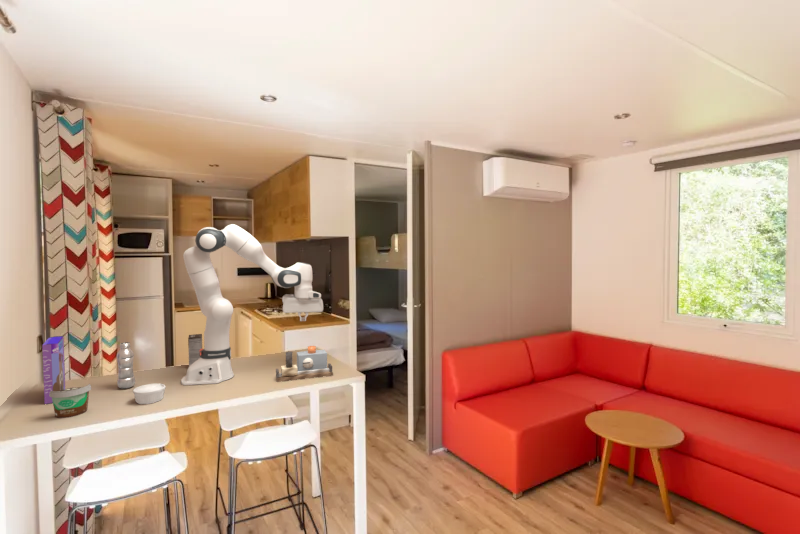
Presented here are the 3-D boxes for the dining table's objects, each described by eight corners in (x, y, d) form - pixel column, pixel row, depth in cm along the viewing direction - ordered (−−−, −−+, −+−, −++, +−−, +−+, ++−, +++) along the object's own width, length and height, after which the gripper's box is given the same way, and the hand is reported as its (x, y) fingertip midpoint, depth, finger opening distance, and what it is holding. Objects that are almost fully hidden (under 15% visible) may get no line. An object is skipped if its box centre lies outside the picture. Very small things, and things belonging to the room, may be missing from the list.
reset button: (308, 353, 204) (308, 348, 204) (307, 352, 207) (307, 346, 207) (316, 353, 205) (316, 347, 205) (315, 351, 209) (315, 345, 209)
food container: (48, 422, 144) (47, 394, 144) (50, 416, 149) (48, 389, 149) (91, 414, 152) (90, 387, 151) (92, 408, 157) (91, 383, 156)
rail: (276, 382, 188) (276, 372, 188) (275, 377, 195) (275, 368, 194) (332, 375, 197) (332, 366, 197) (329, 371, 204) (329, 362, 204)
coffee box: (189, 364, 217) (188, 334, 217) (202, 363, 220) (202, 333, 219) (188, 368, 209) (188, 338, 208) (202, 367, 212) (201, 336, 211)
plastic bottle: (138, 385, 183) (137, 341, 182) (125, 391, 176) (123, 345, 176) (127, 384, 185) (126, 341, 184) (113, 389, 178) (112, 344, 177)
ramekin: (169, 400, 165) (168, 387, 165) (137, 408, 158) (136, 394, 157) (161, 393, 173) (161, 381, 173) (130, 400, 166) (130, 387, 165)
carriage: (282, 377, 189) (281, 354, 189) (281, 373, 195) (280, 351, 194) (297, 375, 192) (297, 353, 191) (296, 372, 197) (295, 350, 197)
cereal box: (60, 402, 164) (58, 343, 163) (44, 404, 161) (42, 344, 160) (65, 389, 178) (63, 335, 177) (51, 391, 175) (49, 336, 174)
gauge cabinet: (299, 374, 200) (298, 356, 199) (296, 369, 208) (296, 352, 207) (327, 371, 205) (327, 353, 204) (324, 366, 213) (324, 349, 212)
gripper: (282, 294, 201) (282, 322, 201) (324, 294, 208) (323, 321, 208) (281, 293, 207) (281, 320, 207) (322, 293, 214) (321, 319, 214)
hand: (302, 321), depth 208 cm, fingers closed
